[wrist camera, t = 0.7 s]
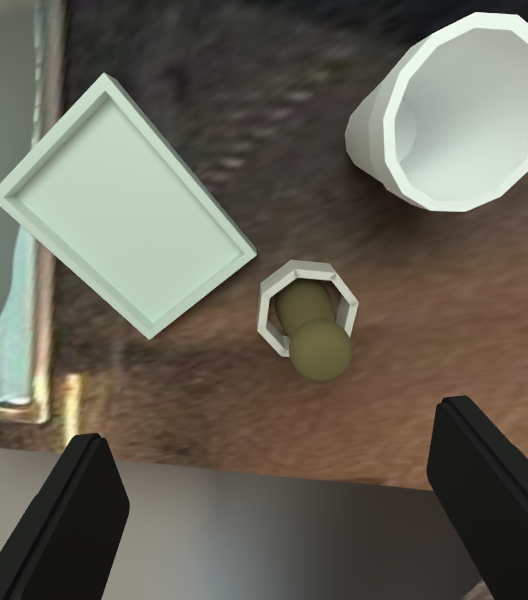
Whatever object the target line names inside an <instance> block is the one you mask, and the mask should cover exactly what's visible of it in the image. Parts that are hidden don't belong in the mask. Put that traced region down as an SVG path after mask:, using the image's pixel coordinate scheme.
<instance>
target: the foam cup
mask: <svg viewBox="0 0 528 600" xmlns="http://www.w3.org/2000/svg"><path fill="white" fill-rule="evenodd" d="M345 141H346V151H347V153H348V154H349V156H350V158H351V160H352V161H353V163H354V164H355V165H356V166H357V167H359V168H360V169H362V170H363V171H365V172H367V173H368V174H370V175H371V176H373V177H374V178H376V179H377V180H379V181H380V182H382V183H383V184H384V186H385V188H386V190H388V191H390V192H391V193H393V194H395V195H396V196H398V197H400V198H401V199H403V200H405V201H406V202H408V203H410V204H411V205H414V206H417V207H420V208H423V209H427V210H430V211H459V212H466V211H468V210H470V209H473V208H475V207H477V206H480V205H482V204H484V203H487V202H489V201H491V200H494V199H496V198H498V197H501V196H502V195H503V194H504V193H505V192H506V191H507V190H508V189H509V188H510V187H511V186H513V185H514V184H515V183H516V182H517V181H518V180H519V179H520V178H521V177H522V176H523V175H524V174H525V173H526V172H527V171H528V23H527V22H525V21H524V20H523V19H522V18H521V17H520V16H518V15H510V14H494V13H479V12H475V13H473V14H471V15H469V16H467V17H465V18H463V19H461V20H459V21H457V22H455V23H453V24H451V25H449V26H447V27H445V28H443V29H441V30H439V31H437V32H435V33H433V34H431V35H430V36H428V37H427V38H425V39H423V40H422V41H420V42H419V43H417V44H416V45H414V46H412V47H411V48H410V49H409V50H408V51H407V53H406V54H405V55H404V56H403V57H402V59H401V60H400V61H399V62H398V63H397V65H396V66H395V67H394V68H393V69H392V71H391V72H390V73H389V74H388V75H387V76H386V78H385V79H384V80H383V81H382V82H381V83H380V84H379V85H378V86H377V87H376V88H375V89H374V90H373V91H372V92H371V93H370V94H369V95H368V96H367V97H366V98H365V99H364V100H363V102H362V103H361V104H360V105H359V106H358V108H357V109H356V110H355V111H354V112H353V114H352V115H351V116H350V119H349V122H348V125H347V128H346V131H345Z"/></svg>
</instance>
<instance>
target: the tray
mask: <svg viewBox="0 0 528 600" xmlns="http://www.w3.org/2000/svg"><path fill="white" fill-rule="evenodd" d="M0 206H1V207H2V208H3V209H4V210H5V211H6V212H8V213H9V214H10V215H11V216H12V217H13V218H14V219H15V220H16V221H18V222H19V223H20V224H21V225H22V226H23V227H24V228H25V229H26V230H28V231H29V232H30V233H31V234H32V235H33V236H34V237H35V238H36V239H38V240H39V241H40V242H41V243H42V244H43V245H44V246H45V247H46V248H48V249H49V250H50V251H51V252H52V253H53V254H54V255H55V256H57V257H58V258H59V259H60V260H61V261H62V262H63V263H64V264H65V265H67V266H68V267H69V268H70V269H71V270H72V271H73V272H74V273H75V274H77V275H78V276H79V277H80V278H81V279H82V280H83V281H84V282H85V283H87V284H88V285H89V286H90V287H91V288H92V289H93V290H94V291H95V292H97V293H98V294H99V295H100V296H101V297H102V298H103V299H104V300H106V301H107V302H108V303H109V304H110V305H111V306H112V307H113V308H114V309H116V310H117V311H118V312H119V313H120V314H121V315H122V316H123V317H124V318H126V319H127V320H128V321H129V322H130V323H131V324H132V325H133V326H134V327H136V328H137V329H138V330H139V331H140V332H141V333H142V334H143V335H144V336H146V337H147V338H148V339H149V340H150V339H151V338H152V337H154V336H155V335H156V334H157V333H159V332H160V331H161V330H163V329H164V328H165V327H166V326H168V325H169V324H170V323H171V322H173V321H174V320H175V319H176V318H178V317H179V316H180V315H181V314H183V313H184V312H185V311H187V310H188V309H189V308H190V307H192V306H193V305H194V304H195V303H197V302H198V301H199V300H200V299H202V298H203V297H204V296H206V295H207V294H208V293H209V292H211V291H212V290H213V289H214V288H216V287H217V286H218V285H219V284H221V283H222V282H223V281H224V280H226V279H227V278H228V277H230V276H231V275H232V274H233V273H235V272H236V271H237V270H238V269H240V268H241V267H242V266H243V265H245V264H246V263H247V262H248V261H250V260H251V259H252V258H254V257H255V256H256V255H257V253H256V247H255V246H254V245H253V244H252V243H251V241H250V240H249V239H248V238H247V237H246V235H245V234H244V233H243V232H242V231H241V229H240V228H239V227H238V226H237V225H236V223H235V222H234V221H233V220H232V219H231V217H230V216H229V215H228V214H227V213H226V211H225V210H224V209H223V208H222V207H221V205H220V204H219V203H218V202H217V200H216V199H215V198H214V197H213V196H212V194H211V193H210V192H209V191H208V190H207V188H206V187H205V186H204V185H203V184H202V182H201V181H200V180H199V179H198V178H197V176H196V175H195V174H194V173H193V172H192V170H191V169H190V168H189V167H188V166H187V164H186V163H185V162H184V161H183V160H182V158H181V157H180V156H179V155H178V154H177V152H176V151H175V150H174V149H173V148H172V146H171V145H170V144H169V143H168V141H167V140H166V139H165V138H164V137H163V135H162V134H161V133H160V132H159V131H158V129H157V128H156V127H155V126H154V125H153V123H152V122H151V121H150V120H149V119H148V117H147V116H146V115H145V114H144V113H143V111H142V110H141V109H140V108H139V107H138V105H137V104H136V103H135V102H134V101H133V99H132V98H131V97H130V96H129V95H128V93H127V92H126V91H125V90H124V89H123V87H122V86H121V85H120V84H119V82H118V81H117V80H116V79H114V78H113V77H111V76H109V75H107V74H106V73H103V74H102V75H101V76H100V77H99V78H98V79H97V80H96V82H95V83H94V84H93V85H92V86H91V87H90V88H89V89H88V90H87V91H86V92H85V93H84V94H83V95H82V97H81V98H80V99H79V100H78V101H77V102H76V103H75V104H74V105H73V106H72V107H71V108H70V109H69V110H68V112H67V113H66V114H65V115H64V116H63V117H62V118H61V119H60V120H59V121H58V122H57V123H56V124H55V125H54V127H53V128H52V129H51V130H50V131H49V132H48V133H47V134H46V135H45V136H44V137H43V138H42V139H41V140H40V142H39V143H38V144H37V145H36V146H35V147H34V148H33V149H32V150H31V151H30V152H29V153H28V154H27V155H26V157H25V158H24V159H23V160H22V161H21V162H20V163H19V164H18V165H17V166H16V167H15V168H14V170H13V171H12V172H11V173H10V174H9V175H8V176H7V177H6V178H5V179H4V180H3V181H2V182H1V183H0Z"/></svg>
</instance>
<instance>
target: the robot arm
mask: <svg viewBox="0 0 528 600" xmlns="http://www.w3.org/2000/svg"><path fill="white" fill-rule="evenodd" d="M427 477H428V480H429V483H430V485H431V486H432V488H433V490H434V492H435V494H436V495H437V497H438V499H439V501H440V503H441V504H442V506H443V508H444V510H445V511H446V513H447V515H448V517H449V519H450V521H451V522H452V524H453V526H454V528H455V530H456V531H457V533H458V535H459V537H460V539H461V540H462V542H463V544H464V546H465V547H466V549H467V551H468V553H469V555H470V556H471V558H472V560H473V562H474V564H475V565H476V567H477V569H478V570H479V573H480V574H481V576H482V578H483V580H484V582H485V583H486V585H487V587H488V589H489V591H490V592H491V594H492V596H493V598H494V600H528V459H527V458H526V457H525V456H524V455H523V453H522V452H521V451H520V450H519V449H518V448H516V447H515V446H514V445H512V444H511V442H510V441H509V440H508V439H507V438H506V437H505V436H504V435H503V434H502V433H501V431H500V430H499V429H498V428H497V427H496V426H495V425H494V424H493V423H492V422H491V421H490V419H489V418H488V417H487V416H486V415H485V414H484V413H483V412H482V411H481V410H480V409H479V407H478V406H477V405H476V404H475V403H474V402H473V401H472V400H471V399H470V398H469V397H468V396H465V395H464V396H455V397H445V398H443V399H442V402H441V403H439V404H438V405H437V407H436V413H435V419H434V426H433V432H432V439H431V445H430V451H429V458H428V464H427ZM129 506H130V504H129V499H128V497H127V494H126V491H125V488H124V486H123V483H122V480H121V478H120V475H119V472H118V470H117V467H116V464H115V461H114V459H113V456H112V453H111V451H110V448H109V445H108V442H107V440H106V439H105V438H101V436H100V435H99V434H98V433H92V434H82V435H75V436H74V437H73V438H72V439H71V440H70V442H69V444H68V445H67V447H66V449H65V450H64V452H63V454H62V455H61V457H60V459H59V460H58V462H57V463H56V465H55V467H54V468H53V470H52V472H51V473H50V475H49V476H48V478H47V480H46V481H45V483H44V485H43V486H42V488H41V489H40V491H39V493H38V494H37V495H36V496H35V497H34V499H33V500H32V502H31V503H30V505H29V506H28V508H27V510H26V511H25V513H24V514H23V516H22V518H21V519H20V521H19V523H18V524H17V526H16V528H15V529H14V531H13V532H12V534H11V536H10V537H9V539H8V540H7V542H6V544H5V545H4V547H3V549H2V550H1V552H0V600H101V598H102V595H103V592H104V589H105V586H106V583H107V580H108V577H109V574H110V571H111V568H112V564H113V561H114V558H115V555H116V552H117V549H118V546H119V543H120V540H121V537H122V534H123V531H124V528H125V524H126V521H127V518H128V515H129V509H130V507H129Z"/></svg>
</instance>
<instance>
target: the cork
mask: <svg viewBox="0 0 528 600" xmlns="http://www.w3.org/2000/svg"><path fill="white" fill-rule="evenodd" d="M275 310H276V313H277V316H278V318H279V320H280V322H281V324H282V326H283V328H284V329H285V331H286V333H287V335H288V337H289V339H290V344H289V356H290V359H291V363H292V365H293V366H294V368H295V369H296V370H297V372H298V373H299V374H300V375H302V376H303V377H305V378H306V379H309V380H312V381H316V382H326V381H330V380H333V379H335V378H337V377H339V376H341V375H342V374H343V373H344V372H345V371H346V370H347V368H348V366H349V364H350V363H351V361H352V356H353V347H352V342H351V339H350V337H349V336H348V334H347V332H346V331H345V329H343V328H342V327H341V326H339V325H338V324H337V323H336V319H335V315H334V311H333V307H332V303H331V299H330V295H329V292H328V291H327V289H326V288H325V286H324V285H322V284H321V283H320V282H319V281H316V280H313V279H308V278H299V279H295V280H293V281H292V282H291V283H289V284H288V285H287V286H285V287H284V288H283V289H281V290H280V291H279V292H278V295H277V297H276V299H275Z"/></svg>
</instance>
